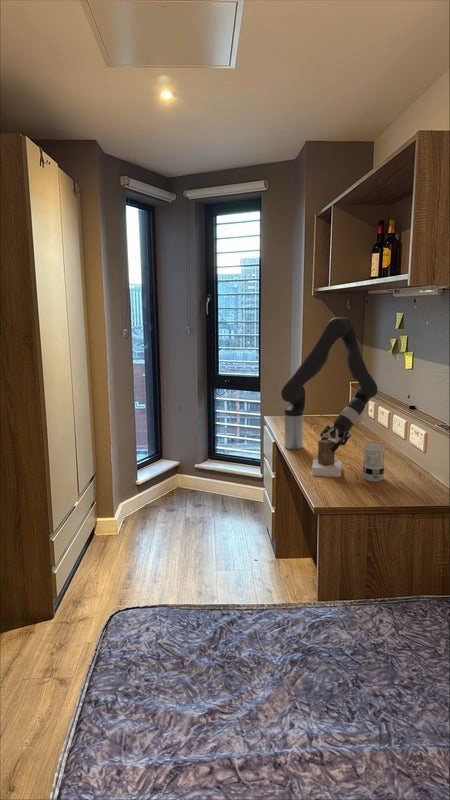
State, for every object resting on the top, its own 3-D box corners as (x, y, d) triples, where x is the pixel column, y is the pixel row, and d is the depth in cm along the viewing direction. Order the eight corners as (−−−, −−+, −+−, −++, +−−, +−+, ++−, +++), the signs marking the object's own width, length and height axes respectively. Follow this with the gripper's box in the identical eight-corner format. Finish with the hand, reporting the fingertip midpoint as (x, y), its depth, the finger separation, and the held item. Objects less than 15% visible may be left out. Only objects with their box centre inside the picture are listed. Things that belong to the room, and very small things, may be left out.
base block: (313, 467, 226) (313, 459, 226) (340, 469, 224) (340, 460, 223) (312, 476, 215) (312, 467, 214) (341, 477, 212) (341, 468, 212)
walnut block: (317, 462, 220) (318, 440, 218) (326, 461, 222) (327, 439, 220) (325, 466, 216) (325, 443, 214) (334, 464, 218) (334, 441, 216)
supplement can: (358, 477, 211) (359, 442, 208) (375, 474, 214) (376, 440, 211) (370, 483, 204) (372, 447, 201) (387, 480, 206) (389, 445, 204)
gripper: (331, 411, 225) (310, 439, 222) (353, 417, 213) (331, 447, 209) (340, 421, 228) (319, 449, 225) (362, 427, 216) (341, 457, 213)
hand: (325, 448), depth 217 cm, fingers open, 8 cm apart
